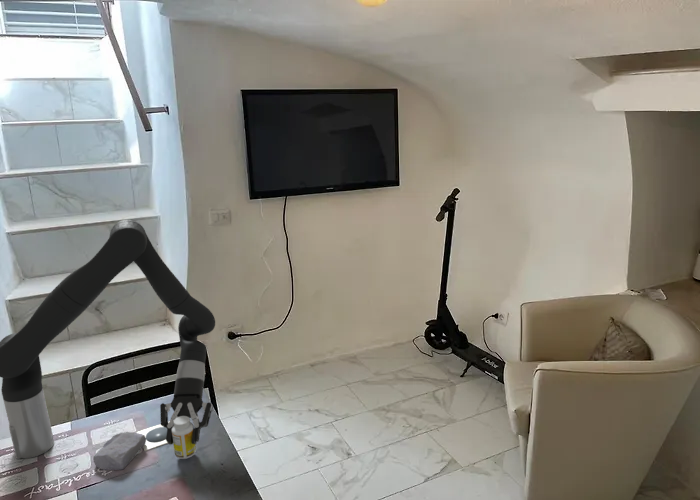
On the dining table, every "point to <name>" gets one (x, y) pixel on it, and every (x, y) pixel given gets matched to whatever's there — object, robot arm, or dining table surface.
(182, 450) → the supplement bottle
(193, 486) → the dining table surface
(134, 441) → the stone block
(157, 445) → the cream square pad
